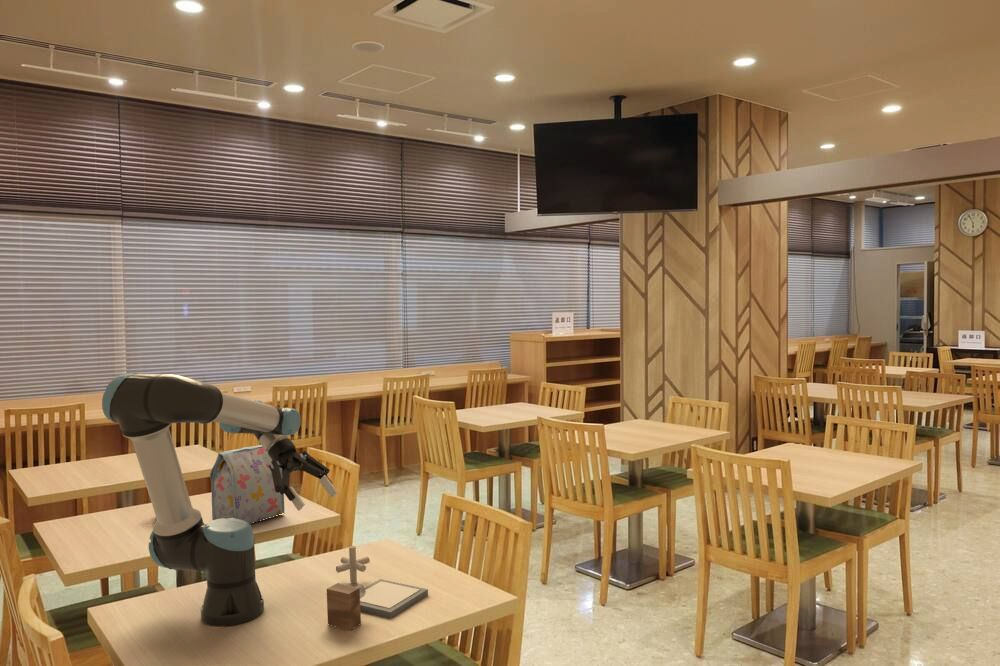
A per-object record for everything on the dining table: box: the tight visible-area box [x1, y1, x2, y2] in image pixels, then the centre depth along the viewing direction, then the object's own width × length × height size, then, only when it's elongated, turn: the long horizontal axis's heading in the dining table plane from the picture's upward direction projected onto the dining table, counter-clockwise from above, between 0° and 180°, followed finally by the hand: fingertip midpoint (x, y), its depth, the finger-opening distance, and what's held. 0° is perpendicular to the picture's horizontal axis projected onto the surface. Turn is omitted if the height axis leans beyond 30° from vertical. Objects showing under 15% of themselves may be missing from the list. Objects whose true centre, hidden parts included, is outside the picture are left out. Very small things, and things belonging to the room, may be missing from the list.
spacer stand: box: [326, 578, 429, 631], centre depth 194 cm, size 26×16×9 cm, turn 150°
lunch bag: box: [209, 444, 285, 525], centre depth 273 cm, size 22×17×26 cm
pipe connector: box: [335, 545, 371, 584], centre depth 211 cm, size 10×10×10 cm
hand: (318, 501), depth 217 cm, fingers open, 13 cm apart
